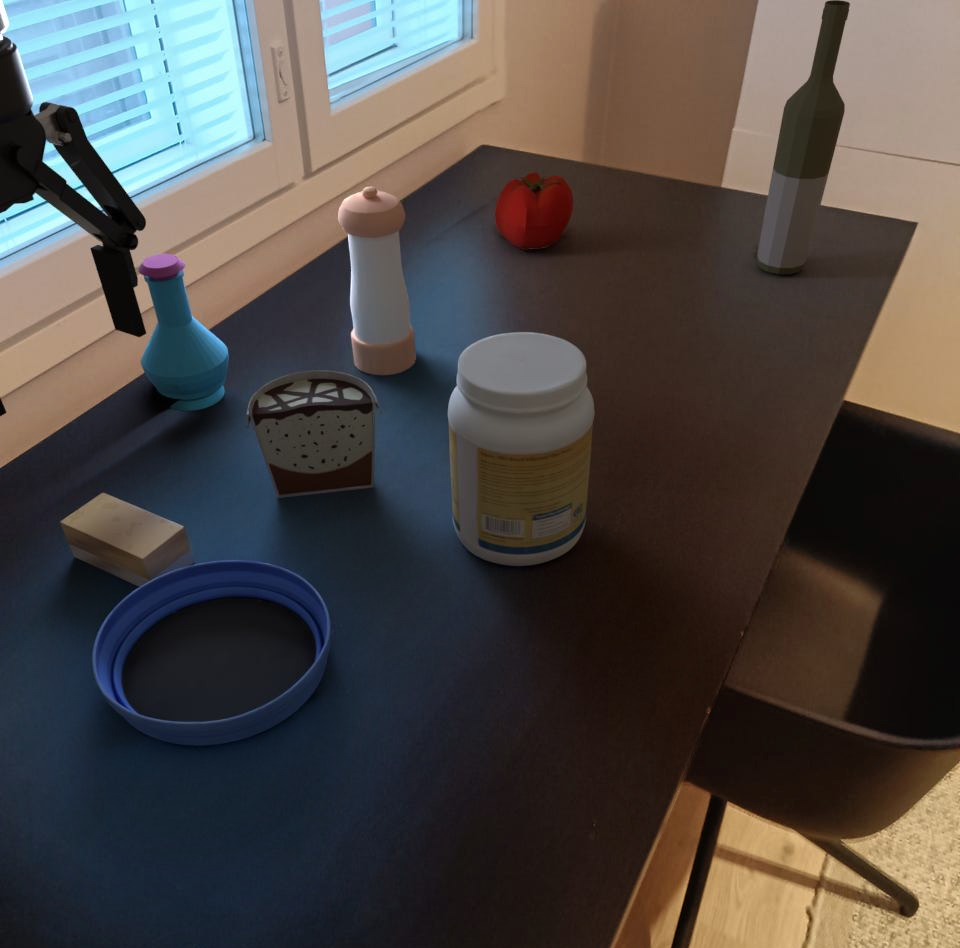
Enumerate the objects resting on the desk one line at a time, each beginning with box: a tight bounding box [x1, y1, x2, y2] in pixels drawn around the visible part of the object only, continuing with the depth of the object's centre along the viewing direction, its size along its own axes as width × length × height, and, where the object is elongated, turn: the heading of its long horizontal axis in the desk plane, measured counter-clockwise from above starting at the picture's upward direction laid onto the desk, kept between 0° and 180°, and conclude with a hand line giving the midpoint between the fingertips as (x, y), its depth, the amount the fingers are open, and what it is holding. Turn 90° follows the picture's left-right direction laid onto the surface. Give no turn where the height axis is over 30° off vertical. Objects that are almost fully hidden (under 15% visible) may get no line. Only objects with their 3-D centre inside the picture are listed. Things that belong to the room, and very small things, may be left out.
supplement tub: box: [447, 331, 596, 567], centre depth 80 cm, size 12×12×17 cm
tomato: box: [494, 171, 574, 249], centre depth 128 cm, size 11×11×9 cm
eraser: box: [59, 492, 196, 588], centre depth 82 cm, size 10×5×4 cm, turn 59°
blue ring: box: [91, 559, 333, 747], centre depth 72 cm, size 18×18×4 cm
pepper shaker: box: [337, 186, 417, 376], centre depth 101 cm, size 7×7×19 cm
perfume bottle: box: [137, 253, 230, 412], centre depth 98 cm, size 9×9×15 cm
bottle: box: [756, 0, 851, 275], centre depth 114 cm, size 7×7×30 cm
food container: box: [245, 369, 383, 499], centre depth 89 cm, size 12×6×10 cm, turn 100°
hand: (64, 369), depth 70 cm, fingers open, 13 cm apart
